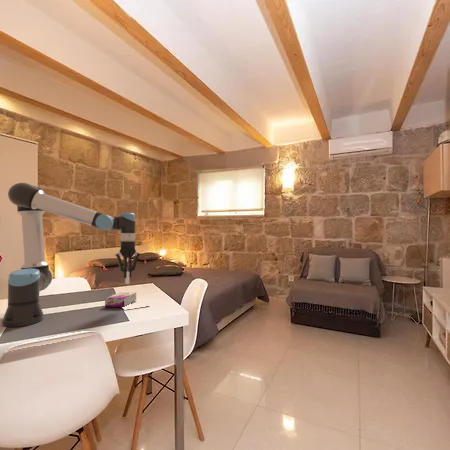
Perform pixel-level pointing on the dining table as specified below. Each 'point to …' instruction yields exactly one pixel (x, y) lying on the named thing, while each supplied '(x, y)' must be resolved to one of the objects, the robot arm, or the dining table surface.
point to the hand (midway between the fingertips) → (127, 283)
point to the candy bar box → (120, 299)
